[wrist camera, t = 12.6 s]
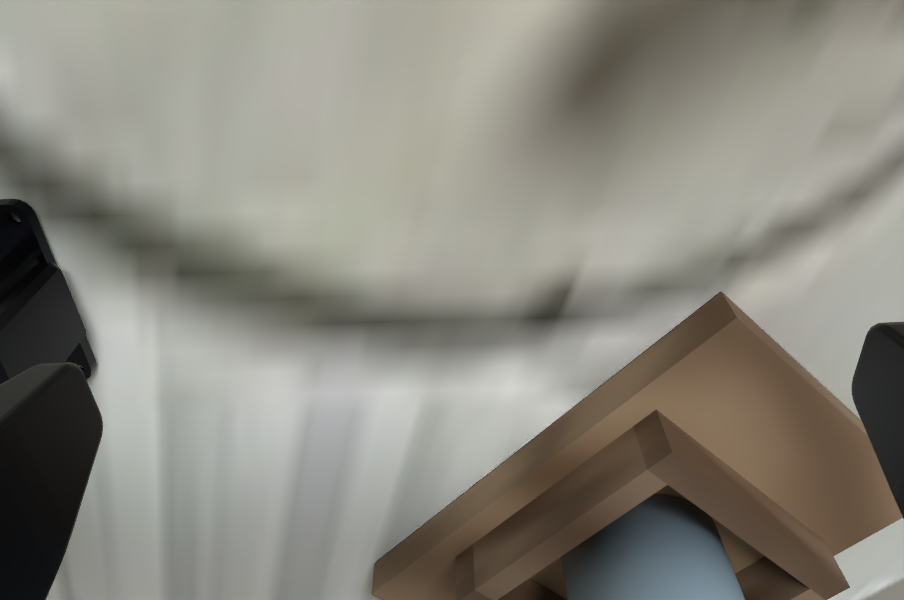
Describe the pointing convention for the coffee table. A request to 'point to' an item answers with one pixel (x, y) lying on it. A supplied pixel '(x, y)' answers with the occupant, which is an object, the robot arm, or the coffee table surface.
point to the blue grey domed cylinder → (653, 557)
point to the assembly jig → (668, 475)
